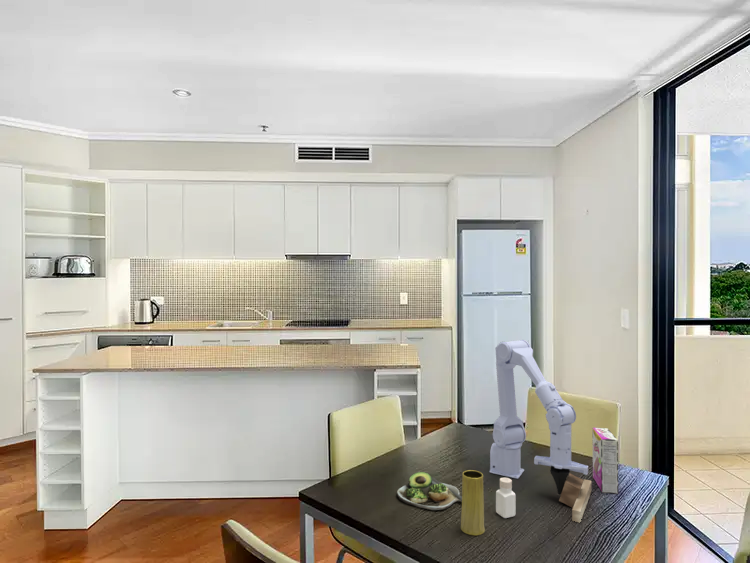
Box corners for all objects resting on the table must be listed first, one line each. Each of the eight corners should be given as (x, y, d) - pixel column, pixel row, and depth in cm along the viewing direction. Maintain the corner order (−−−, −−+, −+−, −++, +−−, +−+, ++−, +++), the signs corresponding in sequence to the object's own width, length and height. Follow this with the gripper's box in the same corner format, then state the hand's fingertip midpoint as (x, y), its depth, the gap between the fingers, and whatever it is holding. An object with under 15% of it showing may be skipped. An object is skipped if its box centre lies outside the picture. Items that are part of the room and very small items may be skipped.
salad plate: (476, 495, 139) (476, 480, 139) (449, 520, 125) (449, 503, 125) (420, 479, 151) (420, 464, 151) (389, 500, 136) (389, 484, 136)
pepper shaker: (495, 512, 128) (495, 478, 128) (506, 509, 130) (506, 475, 130) (504, 519, 125) (504, 484, 125) (516, 516, 126) (516, 481, 126)
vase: (457, 523, 123) (458, 469, 122) (480, 522, 123) (480, 468, 123) (464, 536, 116) (464, 479, 116) (488, 535, 117) (488, 478, 117)
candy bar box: (591, 477, 151) (591, 426, 151) (608, 478, 150) (608, 427, 150) (600, 493, 140) (601, 438, 140) (618, 494, 139) (619, 439, 139)
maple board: (572, 520, 124) (572, 509, 124) (584, 489, 143) (584, 479, 143) (580, 523, 123) (580, 511, 123) (591, 490, 142) (591, 480, 142)
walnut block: (558, 500, 133) (565, 482, 132) (563, 491, 139) (569, 473, 138) (573, 508, 131) (579, 489, 130) (577, 498, 137) (583, 479, 136)
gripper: (531, 445, 136) (531, 492, 136) (585, 456, 129) (585, 505, 129) (537, 438, 142) (537, 483, 142) (589, 448, 135) (589, 495, 135)
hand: (560, 493), depth 136 cm, fingers closed
